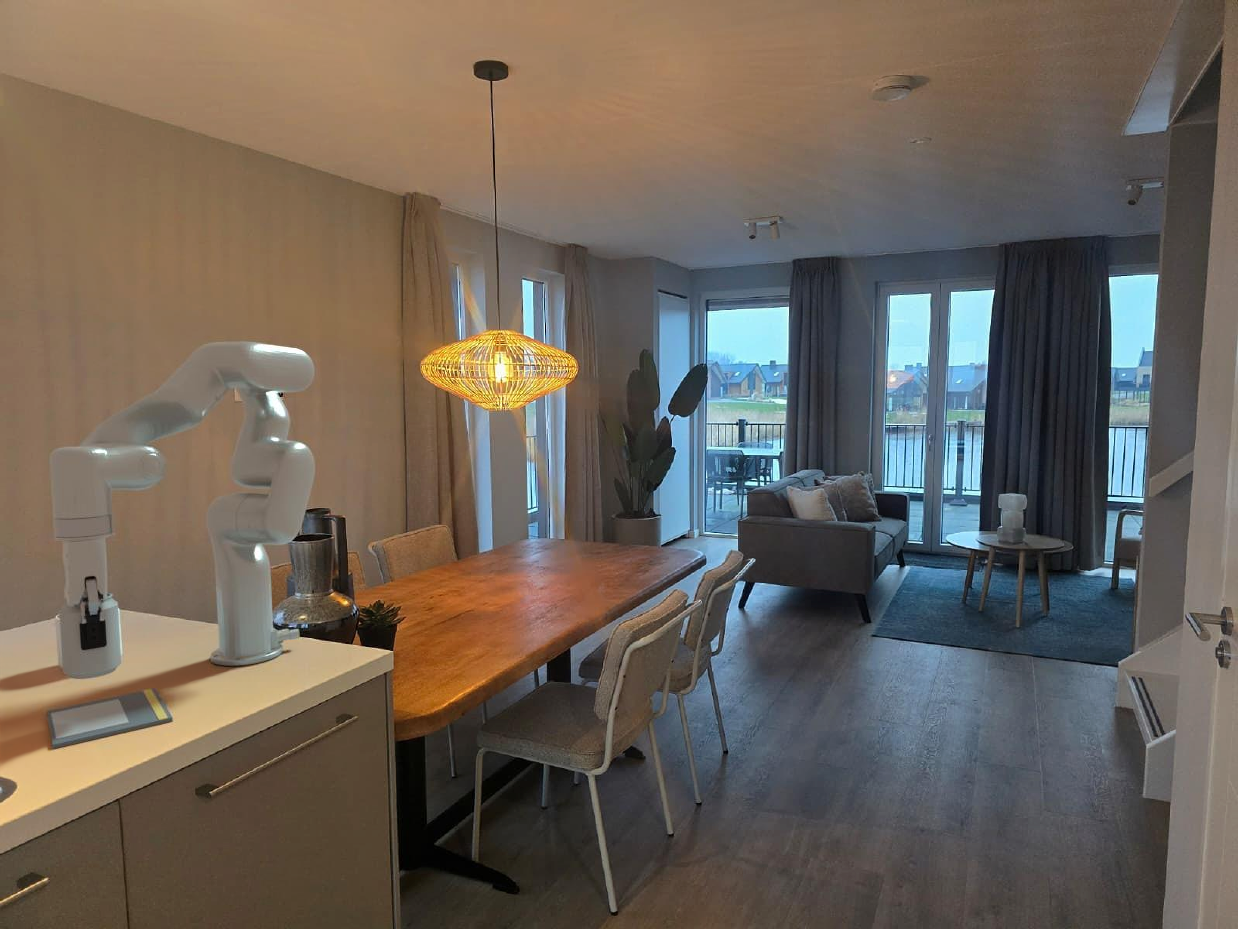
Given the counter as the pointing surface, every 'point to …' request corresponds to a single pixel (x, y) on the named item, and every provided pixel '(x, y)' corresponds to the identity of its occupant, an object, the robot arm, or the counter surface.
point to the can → (91, 660)
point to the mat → (106, 717)
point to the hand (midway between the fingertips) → (91, 641)
